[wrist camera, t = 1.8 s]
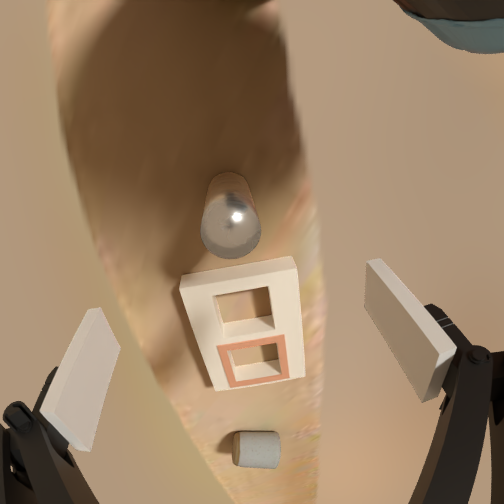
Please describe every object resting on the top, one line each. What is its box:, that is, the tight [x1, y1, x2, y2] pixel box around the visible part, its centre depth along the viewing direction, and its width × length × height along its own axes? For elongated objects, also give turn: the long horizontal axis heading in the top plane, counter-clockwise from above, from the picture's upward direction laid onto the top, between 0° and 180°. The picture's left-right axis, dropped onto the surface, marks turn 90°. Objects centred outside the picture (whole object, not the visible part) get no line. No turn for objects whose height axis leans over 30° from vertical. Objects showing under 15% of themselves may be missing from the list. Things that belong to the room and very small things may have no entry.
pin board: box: [179, 256, 306, 391], centre depth 39 cm, size 18×13×3 cm
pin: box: [200, 172, 261, 259], centre depth 28 cm, size 4×4×11 cm
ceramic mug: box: [232, 431, 281, 469], centre depth 50 cm, size 11×8×8 cm
